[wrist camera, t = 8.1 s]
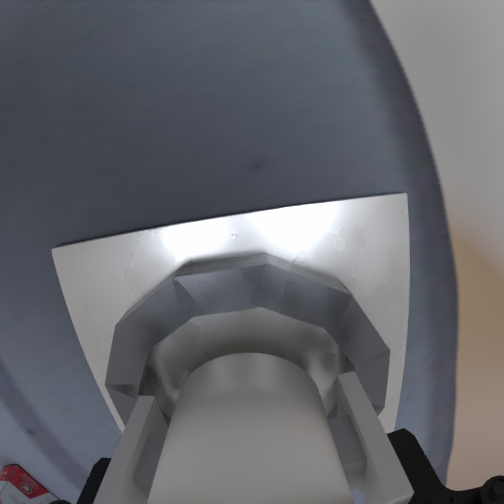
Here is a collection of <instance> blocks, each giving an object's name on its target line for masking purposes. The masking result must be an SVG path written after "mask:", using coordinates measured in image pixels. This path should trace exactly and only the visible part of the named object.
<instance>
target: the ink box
mask: <svg viewBox="0 0 504 504" xmlns="http://www.w3.org/2000/svg"><path fill="white" fill-rule="evenodd" d="M56 500H59V499H58V498H56V497H55V496H54V495H52V494H51V493H50V492H49V491H47V490H46V489H45V488H44V487H42V486H41V485H40V484H39V483H38V482H37V481H35V480H34V479H33V478H32V477H31V476H30V475H29V474H27V473H26V472H25V471H24V470H23V469H22V468H21V467H20V466H18V465H9V466H5V467H3V469H2V470H1V472H0V504H49V503H51V502H52V501H56Z"/></svg>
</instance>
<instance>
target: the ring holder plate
mask: <svg viewBox="0 0 504 504" xmlns="http://www.w3.org/2000/svg"><path fill="white" fill-rule="evenodd" d="M51 251H52V256H53V260H54V263H55V267H56V271H57V275H58V278H59V282H60V285H61V289H62V292H63V295H64V298H65V302H66V305H67V308H68V311H69V314H70V317H71V320H72V322H73V325H74V328H75V331H76V334H77V336H78V339H79V342H80V344H81V347H82V349H83V352H84V354H85V357H86V359H87V362H88V364H89V366H90V369H91V371H92V373H93V376H94V378H95V380H96V382H97V384H98V387H99V389H100V391H101V393H102V395H103V397H104V399H105V401H106V403H107V405H108V407H109V409H110V411H111V413H112V415H113V417H114V419H115V421H116V423H117V425H118V427H119V428H120V430H121V432H122V434H123V431H124V429H125V427H126V425H127V422H128V420H129V418H130V416H131V414H132V411H133V409H134V407H135V405H136V403H137V400H138V398H139V396H155V397H156V400H157V402H158V405H159V407H160V409H161V412H162V414H163V417H164V419H165V421H166V424H167V426H168V428H169V425H170V422H171V418H172V415H173V412H174V408H175V405H176V402H177V398H178V395H179V392H180V389H181V387H182V385H183V383H184V381H185V380H186V379H187V377H188V376H189V375H190V374H191V373H192V372H193V371H194V370H196V369H197V368H198V367H200V366H201V365H203V364H205V363H206V362H208V361H211V360H213V359H215V358H218V357H222V356H225V355H230V354H236V353H263V354H269V355H273V356H277V357H281V358H283V359H286V360H288V361H290V362H292V363H294V364H296V365H298V366H299V367H301V368H302V369H303V370H305V371H306V372H307V373H308V374H309V375H310V376H311V378H312V379H313V380H314V382H315V383H316V385H317V387H318V390H319V393H320V396H321V399H322V402H323V405H324V408H325V411H326V415H327V418H328V419H332V418H337V375H339V374H344V373H349V372H353V371H355V373H356V375H357V377H358V379H359V381H360V383H361V385H362V387H363V389H364V391H365V393H366V395H367V397H368V399H369V401H370V403H371V404H372V406H373V408H374V410H375V412H376V414H377V416H378V418H379V420H380V422H381V424H382V426H383V428H384V430H385V432H386V434H387V433H391V432H394V427H395V422H396V417H397V411H398V405H399V399H400V393H401V386H402V379H403V371H404V362H405V353H406V343H407V330H408V315H409V291H410V242H409V218H408V202H407V193H402V192H399V193H389V194H380V195H371V196H362V197H353V198H345V199H336V200H328V201H321V202H313V203H305V204H298V205H290V206H283V207H276V208H269V209H262V210H255V211H249V212H242V213H236V214H229V215H223V216H217V217H211V218H204V219H198V220H192V221H187V222H181V223H175V224H169V225H164V226H158V227H152V228H147V229H142V230H136V231H131V232H126V233H120V234H115V235H110V236H105V237H100V238H95V239H90V240H85V241H80V242H76V243H71V244H66V245H62V246H57V247H55V248H53V249H51Z"/></svg>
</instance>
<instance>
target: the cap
mask: <svg viewBox="0 0 504 504" xmlns="http://www.w3.org/2000/svg"><path fill="white" fill-rule="evenodd" d="M366 464H367V458H366V455H365V453H364V450H363V448H362V445H361V442H360V440H359V437H358V435H357V433H356V430H355V428H354V425H353V423H352V420H351V418H350V415H345V416H341V417H337V418H332V419H328V418H327V415H326V411H325V408H324V405H323V402H322V399H321V396H320V393H319V390H318V387H317V385H316V383H315V382H314V380H313V379H312V378H311V376H310V375H309V374H308V373H307V372H306V371H305V370H303V369H302V368H301V367H299V366H298V365H296V364H294V363H292V362H290V361H288V360H286V359H283V358H281V357H277V356H273V355H269V354H263V353H236V354H230V355H225V356H222V357H218V358H215V359H213V360H211V361H208V362H206V363H205V364H203V365H201V366H200V367H198V368H197V369H196V370H194V371H193V372H192V373H191V374H190V375H189V376H188V377H187V379H186V380H185V381H184V383H183V385H182V387H181V389H180V392H179V395H178V398H177V402H176V405H175V408H174V412H173V415H172V418H171V422H170V425H169V428H168V432H167V435H148V436H147V439H146V442H145V445H144V448H143V450H142V453H141V456H140V459H139V462H138V464H137V467H136V470H135V473H134V476H133V480H134V481H135V483H136V484H137V486H138V487H139V488H140V490H141V491H142V493H143V494H144V495H145V497H146V498H147V499H148V502H147V504H354V502H353V499H352V495H351V492H354V491H358V490H361V489H362V487H363V481H364V476H365V470H366Z"/></svg>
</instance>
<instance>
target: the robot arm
mask: <svg viewBox="0 0 504 504" xmlns="http://www.w3.org/2000/svg"><path fill="white" fill-rule="evenodd" d="M345 415H350V418H351V420H352V423H353V425H354V428H355V430H356V433H357V435H358V437H359V440H360V442H361V445H362V448H363V450H364V453H365V455H366V458H367V464H366V470H365V476H364V481H363V487H362V489H361V491H362V494H363V497H364V500H365V503H366V504H504V476H500V475H499V476H495V477H492V478H490V479H489V480H487V481H486V482H485V484H484V485H483V486H482V487H478V488H474V489H469V490H464V491H454V490H450V489H448V488H446V487H445V486H444V485H443V484H442V483H441V482H440V480H439V478H438V476H437V475H436V473H435V471H434V469H433V467H432V466H431V464H430V462H429V460H428V458H427V457H426V455H425V454H424V451H423V450H422V448H421V447H420V444H419V443H418V441H417V439H416V438H415V436H414V435H413V434H412V433H410V432H409V431H407V430H406V429H405V428H403V429H400V430H397V431H394V432H391V433H387V434H386V432H385V430H384V428H383V426H382V424H381V422H380V420H379V418H378V416H377V414H376V412H375V410H374V408H373V406H372V404H371V403H370V401H369V399H368V397H367V395H366V393H365V391H364V389H363V387H362V385H361V383H360V381H359V379H358V377H357V375H356V373H355V371H353V372H349V373H344V374H339V375H337V417H341V416H345ZM167 432H168V426H167V424H166V421H165V419H164V417H163V414H162V412H161V409H160V407H159V405H158V402H157V400H156V397H155V396H139V398H138V400H137V403H136V405H135V407H134V409H133V411H132V414H131V416H130V418H129V420H128V422H127V425H126V427H125V429H124V431H123V434H122V436H121V438H120V441H119V443H118V445H117V447H116V450H115V452H114V454H113V457H112V459H111V458H103V457H102V458H101V459H100V460H99V461H98V462H97V463H96V464H95V465H94V466H93V468H92V470H91V473H90V477H88V479H87V481H86V484H85V486H84V488H83V490H82V492H81V495H80V497H79V499H78V501H77V504H147V502H148V499H147V498H146V497H145V495H144V494H143V493H142V491H141V490H140V488H139V487H138V486H137V484H136V483H135V481H134V480H133V476H134V473H135V470H136V467H137V464H138V462H139V459H140V456H141V453H142V450H143V448H144V445H145V442H146V439H147V436H148V435H167ZM49 504H71V503H69V502H67V501H65V500H56V501H52V502H51V503H49Z"/></svg>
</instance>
